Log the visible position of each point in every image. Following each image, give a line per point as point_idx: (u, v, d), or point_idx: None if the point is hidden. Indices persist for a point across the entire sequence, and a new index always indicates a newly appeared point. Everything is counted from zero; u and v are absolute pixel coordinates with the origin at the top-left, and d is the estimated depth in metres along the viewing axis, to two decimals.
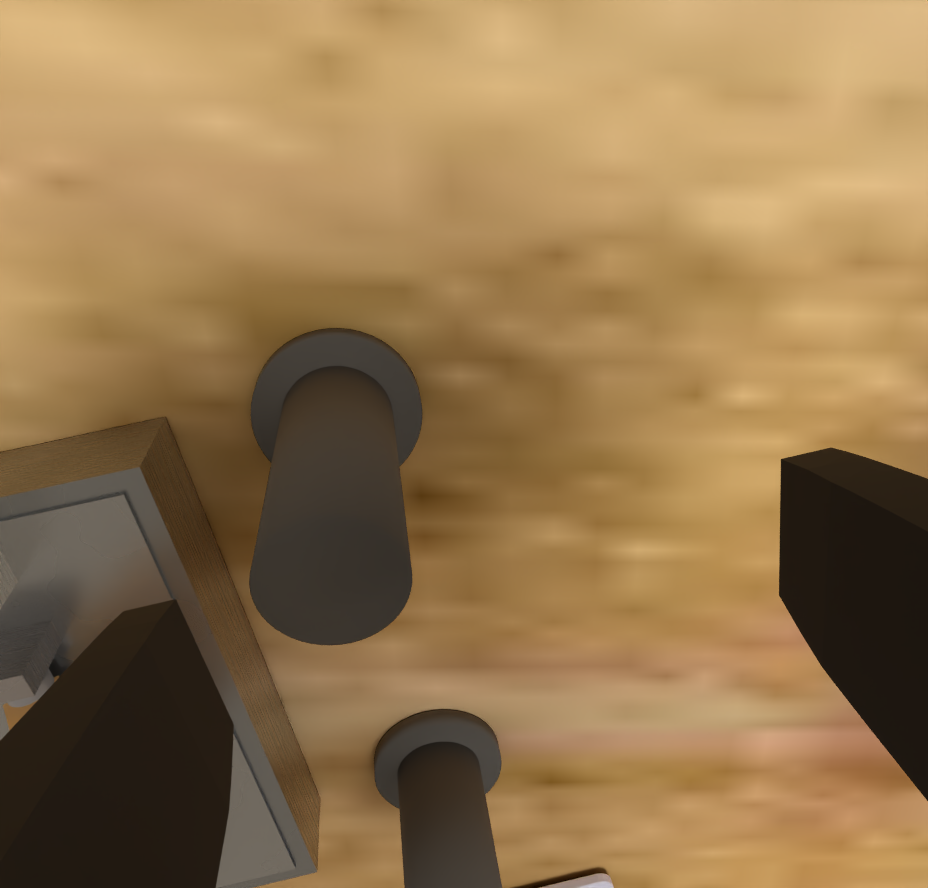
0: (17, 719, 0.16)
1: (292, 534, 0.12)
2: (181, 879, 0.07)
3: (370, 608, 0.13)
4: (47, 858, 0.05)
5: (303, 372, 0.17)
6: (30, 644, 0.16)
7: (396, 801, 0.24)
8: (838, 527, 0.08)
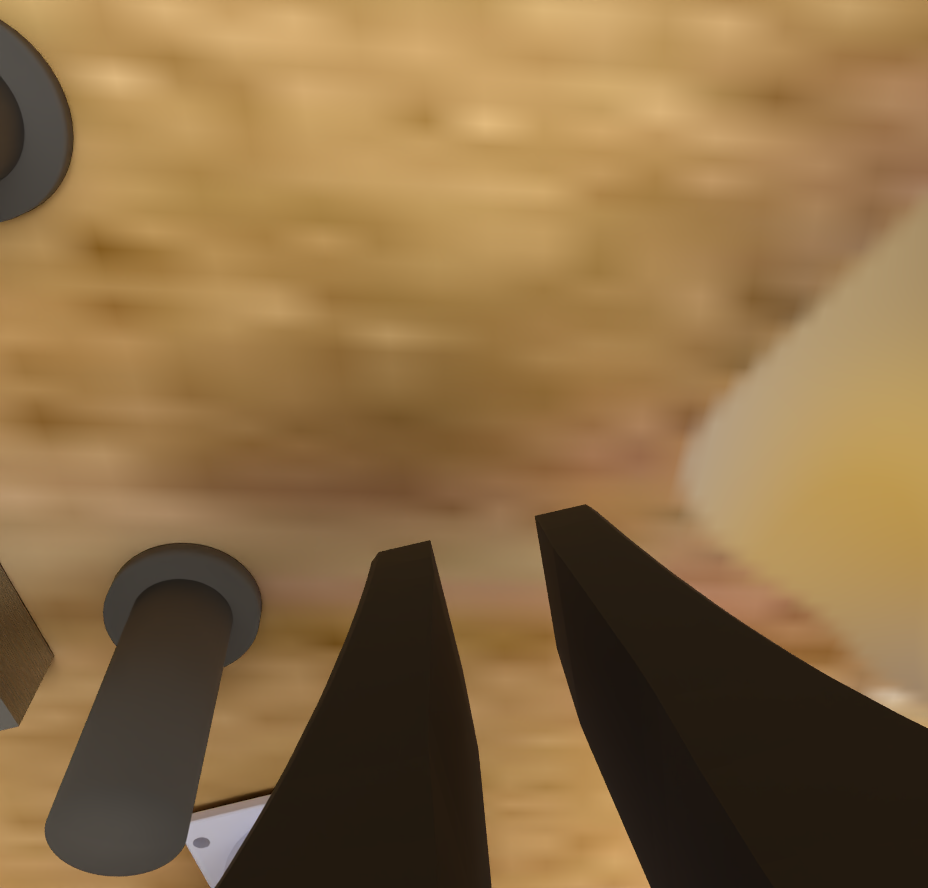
0: None
1: None
2: (475, 807, 0.07)
3: None
4: (438, 765, 0.06)
5: None
6: None
7: None
8: (563, 592, 0.08)
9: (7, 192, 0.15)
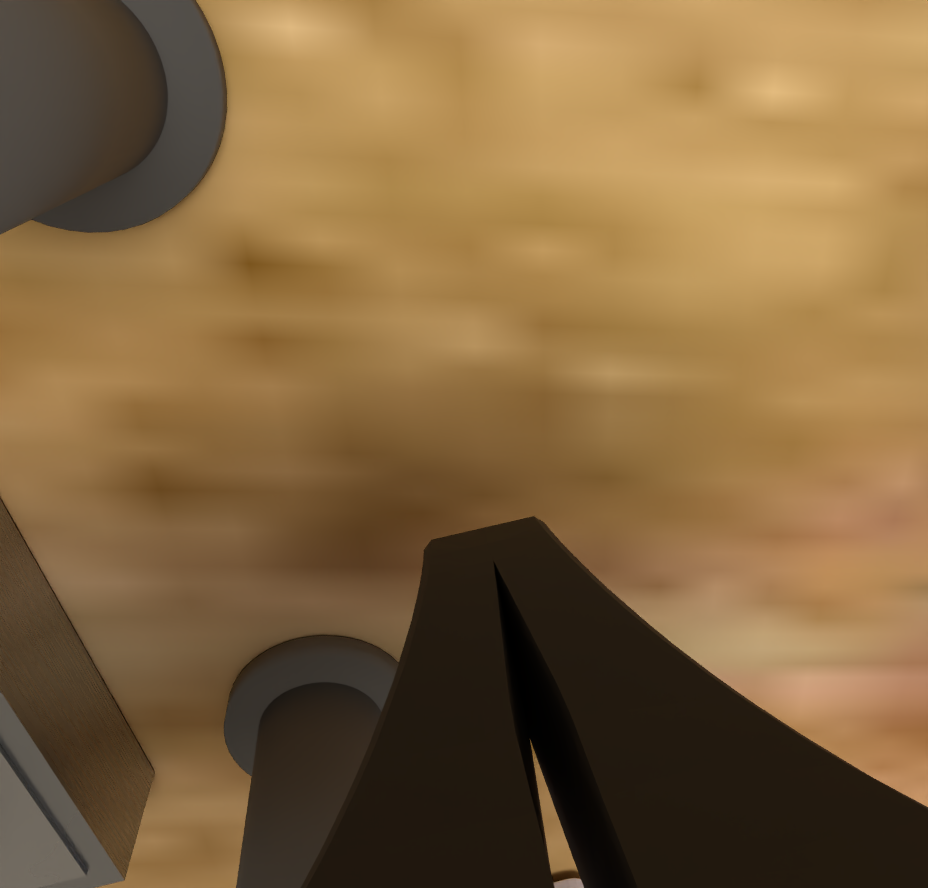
0: None
1: None
2: (535, 793, 0.07)
3: None
4: (518, 745, 0.06)
5: None
6: None
7: None
8: (504, 605, 0.08)
9: (139, 187, 0.11)
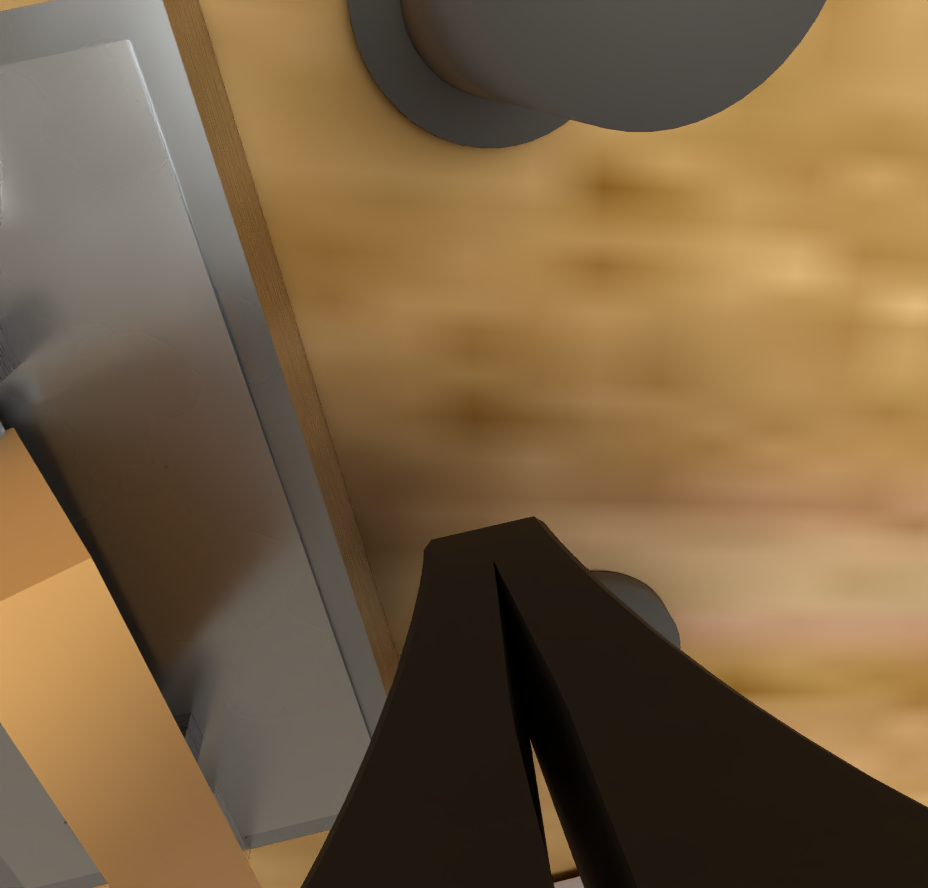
0: None
1: None
2: (536, 792, 0.07)
3: (737, 15, 0.05)
4: (518, 744, 0.06)
5: None
6: None
7: None
8: (505, 605, 0.08)
9: None
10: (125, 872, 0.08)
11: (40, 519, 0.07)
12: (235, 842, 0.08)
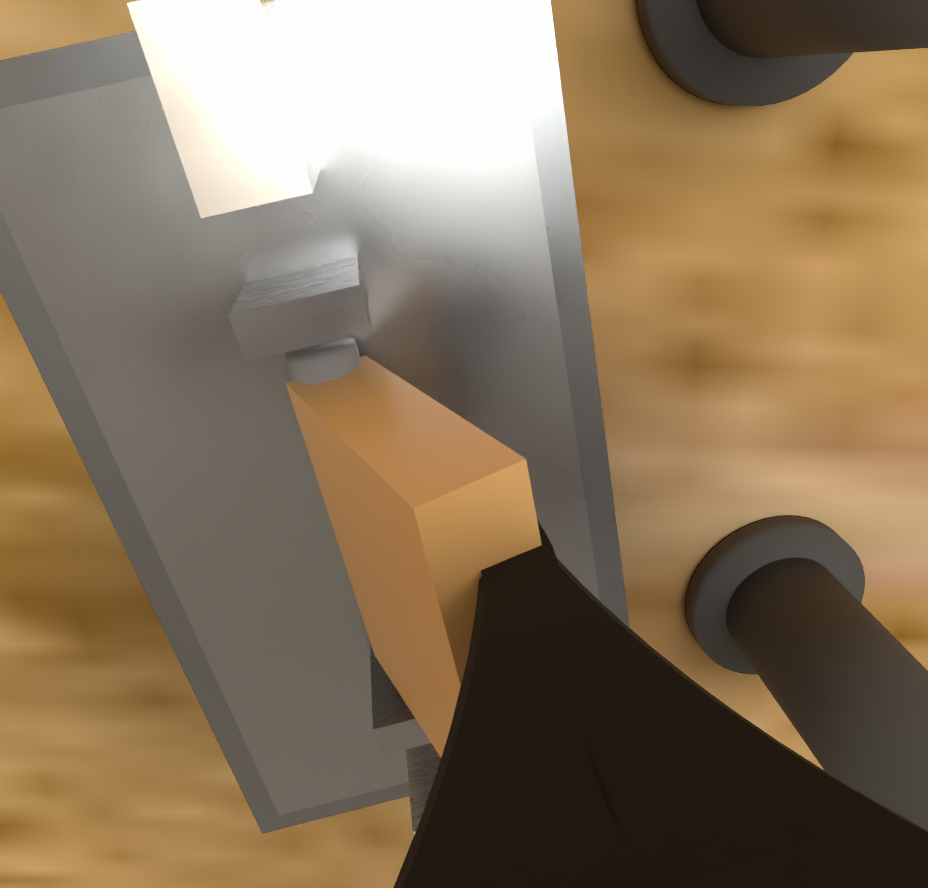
0: (315, 393, 0.10)
1: None
2: None
3: None
4: None
5: None
6: (343, 271, 0.10)
7: (716, 652, 0.18)
8: None
9: (800, 63, 0.12)
10: None
11: (450, 428, 0.08)
12: None
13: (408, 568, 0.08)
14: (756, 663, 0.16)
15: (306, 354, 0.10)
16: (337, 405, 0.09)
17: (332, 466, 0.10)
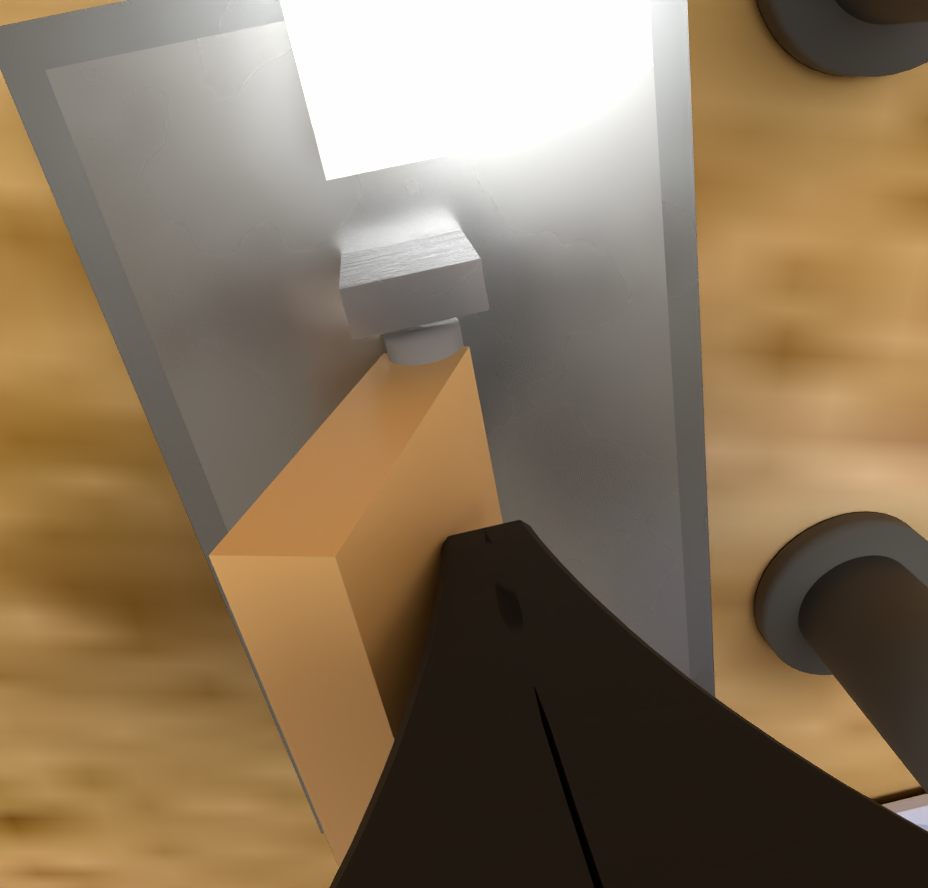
0: (376, 376, 0.09)
1: None
2: None
3: None
4: None
5: None
6: (452, 244, 0.09)
7: (786, 652, 0.17)
8: None
9: (923, 31, 0.11)
10: (329, 813, 0.08)
11: (365, 477, 0.07)
12: None
13: None
14: (835, 665, 0.15)
15: (403, 330, 0.10)
16: (362, 400, 0.09)
17: None
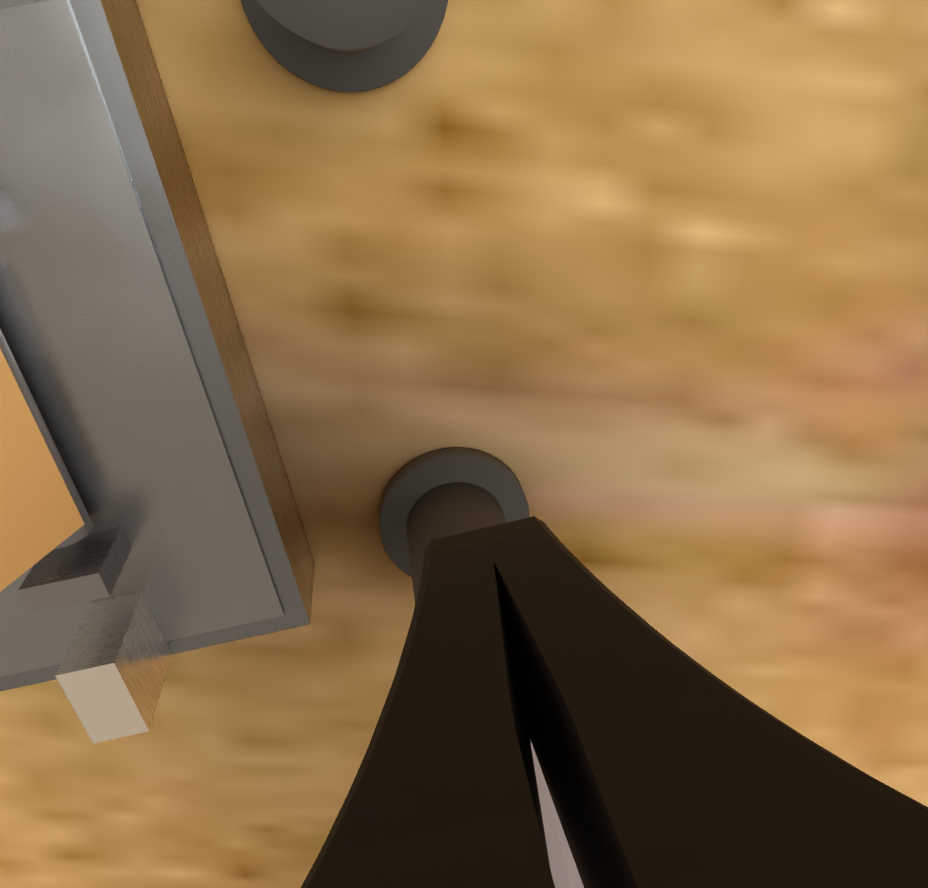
0: None
1: None
2: (536, 793, 0.07)
3: None
4: (519, 744, 0.06)
5: None
6: None
7: (404, 564, 0.20)
8: (504, 605, 0.08)
9: (382, 58, 0.15)
10: None
11: None
12: None
13: None
14: None
15: None
16: None
17: None
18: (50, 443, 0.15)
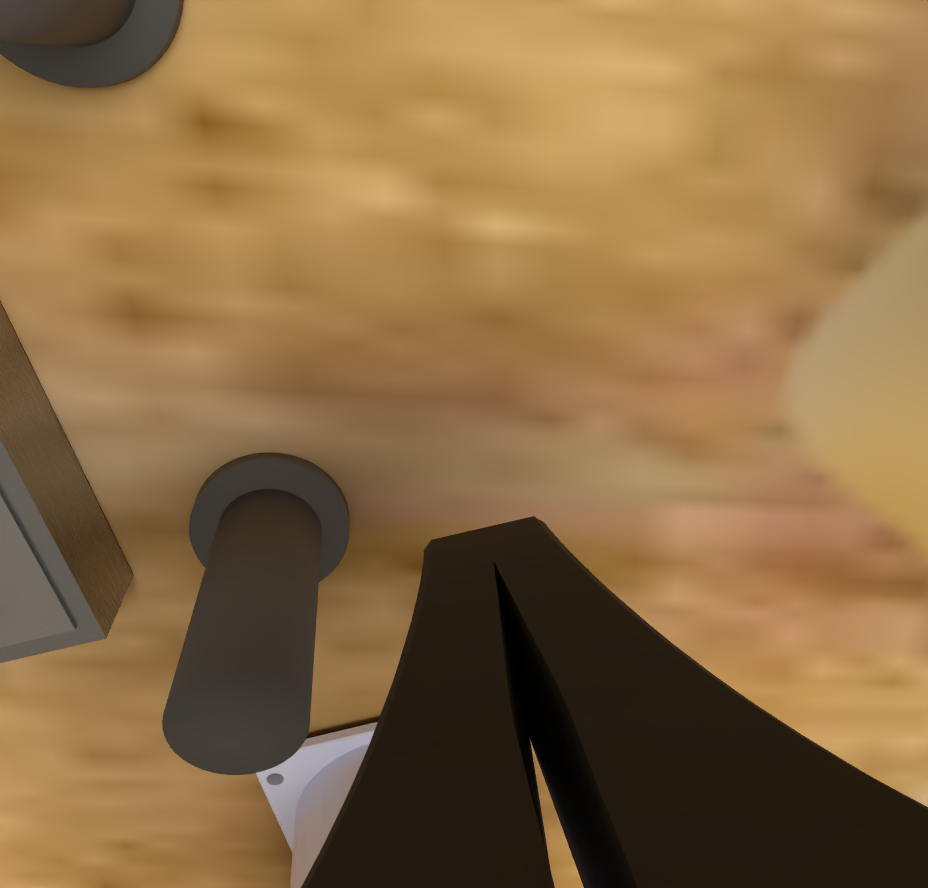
0: None
1: None
2: (535, 793, 0.07)
3: None
4: (519, 744, 0.06)
5: None
6: None
7: None
8: (504, 606, 0.08)
9: (117, 51, 0.14)
10: None
11: None
12: None
13: None
14: None
15: None
16: None
17: None
18: None
